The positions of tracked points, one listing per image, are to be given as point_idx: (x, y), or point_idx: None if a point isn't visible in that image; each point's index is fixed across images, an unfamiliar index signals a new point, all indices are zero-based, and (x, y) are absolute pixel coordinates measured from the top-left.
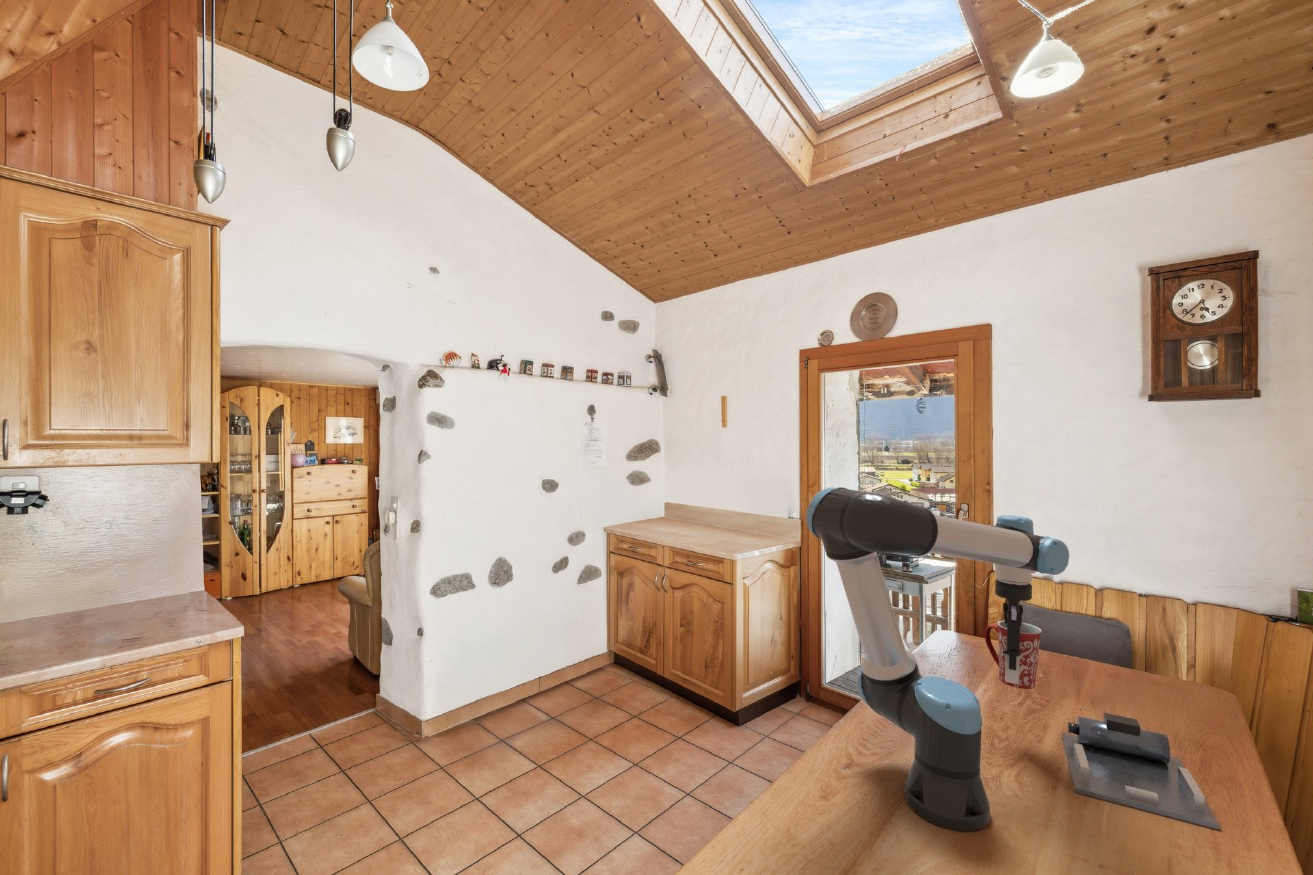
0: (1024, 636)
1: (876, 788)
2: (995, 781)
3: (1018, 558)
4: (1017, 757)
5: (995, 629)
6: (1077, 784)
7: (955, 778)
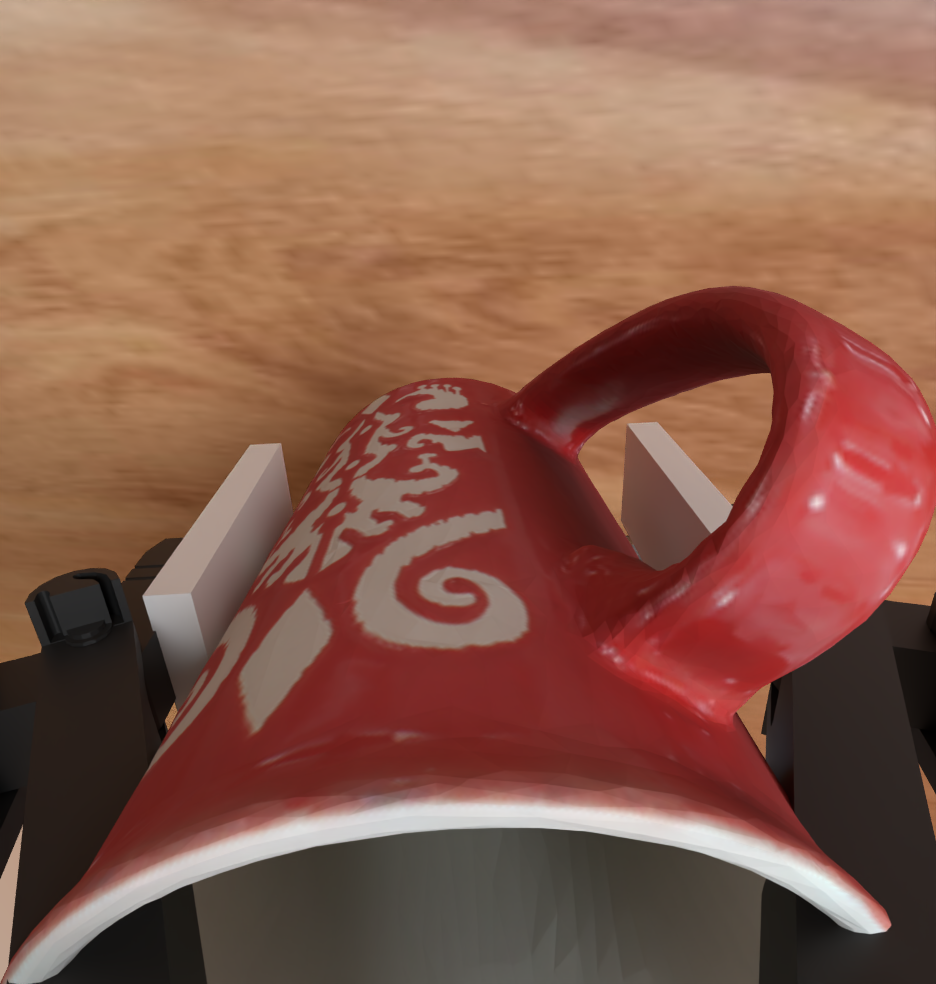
0: None
1: None
2: (33, 294)
3: None
4: (338, 375)
5: (672, 566)
6: None
7: None
